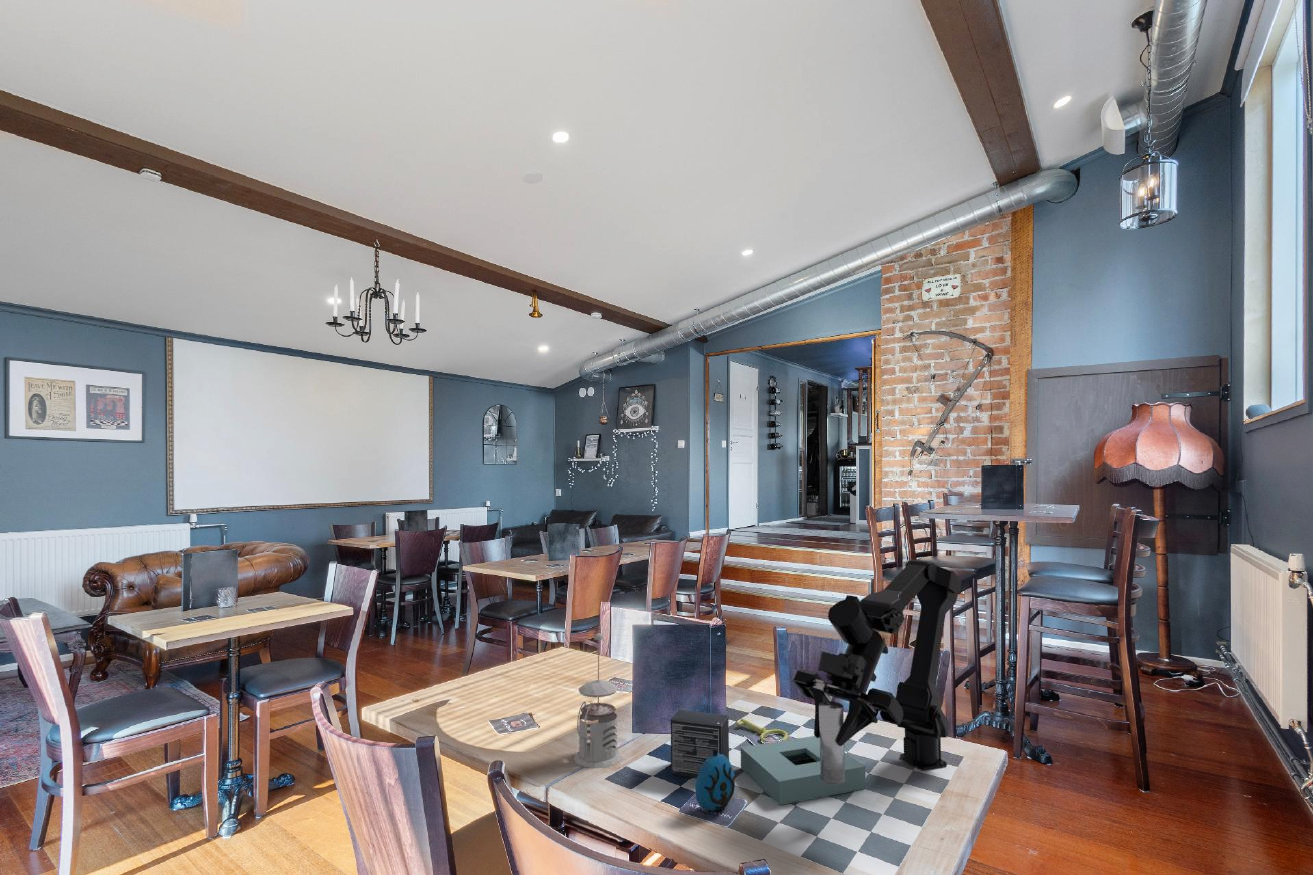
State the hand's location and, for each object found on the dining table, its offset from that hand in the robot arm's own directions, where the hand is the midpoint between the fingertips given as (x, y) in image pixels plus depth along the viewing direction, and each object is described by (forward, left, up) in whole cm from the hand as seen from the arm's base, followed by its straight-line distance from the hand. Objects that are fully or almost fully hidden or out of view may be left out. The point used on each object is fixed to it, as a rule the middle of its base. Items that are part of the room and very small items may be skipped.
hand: (827, 740), depth 107 cm
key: (-7, -36, -14) cm, 40 cm away
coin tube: (-1, -1, -7) cm, 7 cm away
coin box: (-4, -15, -13) cm, 21 cm away
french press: (+31, -36, -14) cm, 50 cm away
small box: (+13, -24, -14) cm, 31 cm away
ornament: (+16, -10, -14) cm, 23 cm away
